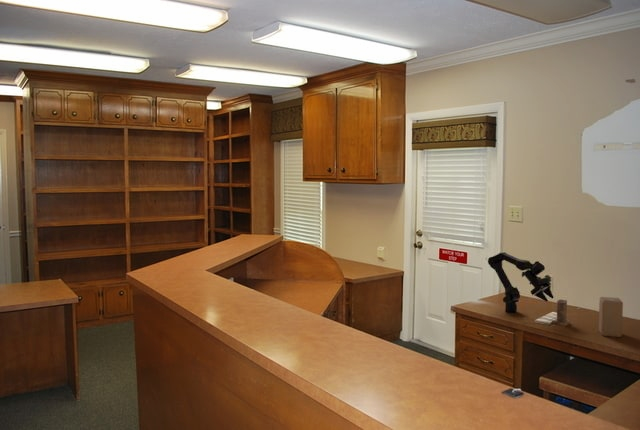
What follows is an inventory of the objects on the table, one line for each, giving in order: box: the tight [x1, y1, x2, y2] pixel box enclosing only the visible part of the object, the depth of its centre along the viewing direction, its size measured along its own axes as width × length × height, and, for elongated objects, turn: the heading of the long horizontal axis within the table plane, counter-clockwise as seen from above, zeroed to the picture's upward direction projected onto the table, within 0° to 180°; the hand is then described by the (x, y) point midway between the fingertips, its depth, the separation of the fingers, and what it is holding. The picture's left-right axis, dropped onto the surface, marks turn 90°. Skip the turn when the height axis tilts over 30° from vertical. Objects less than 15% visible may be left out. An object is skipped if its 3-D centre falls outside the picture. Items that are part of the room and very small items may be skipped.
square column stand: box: [552, 299, 571, 327], centre depth 309 cm, size 7×7×14 cm
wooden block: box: [598, 296, 624, 338], centre depth 288 cm, size 10×10×20 cm
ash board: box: [534, 311, 557, 326], centre depth 319 cm, size 26×8×1 cm, turn 134°
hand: (550, 299), depth 315 cm, fingers open, 9 cm apart
